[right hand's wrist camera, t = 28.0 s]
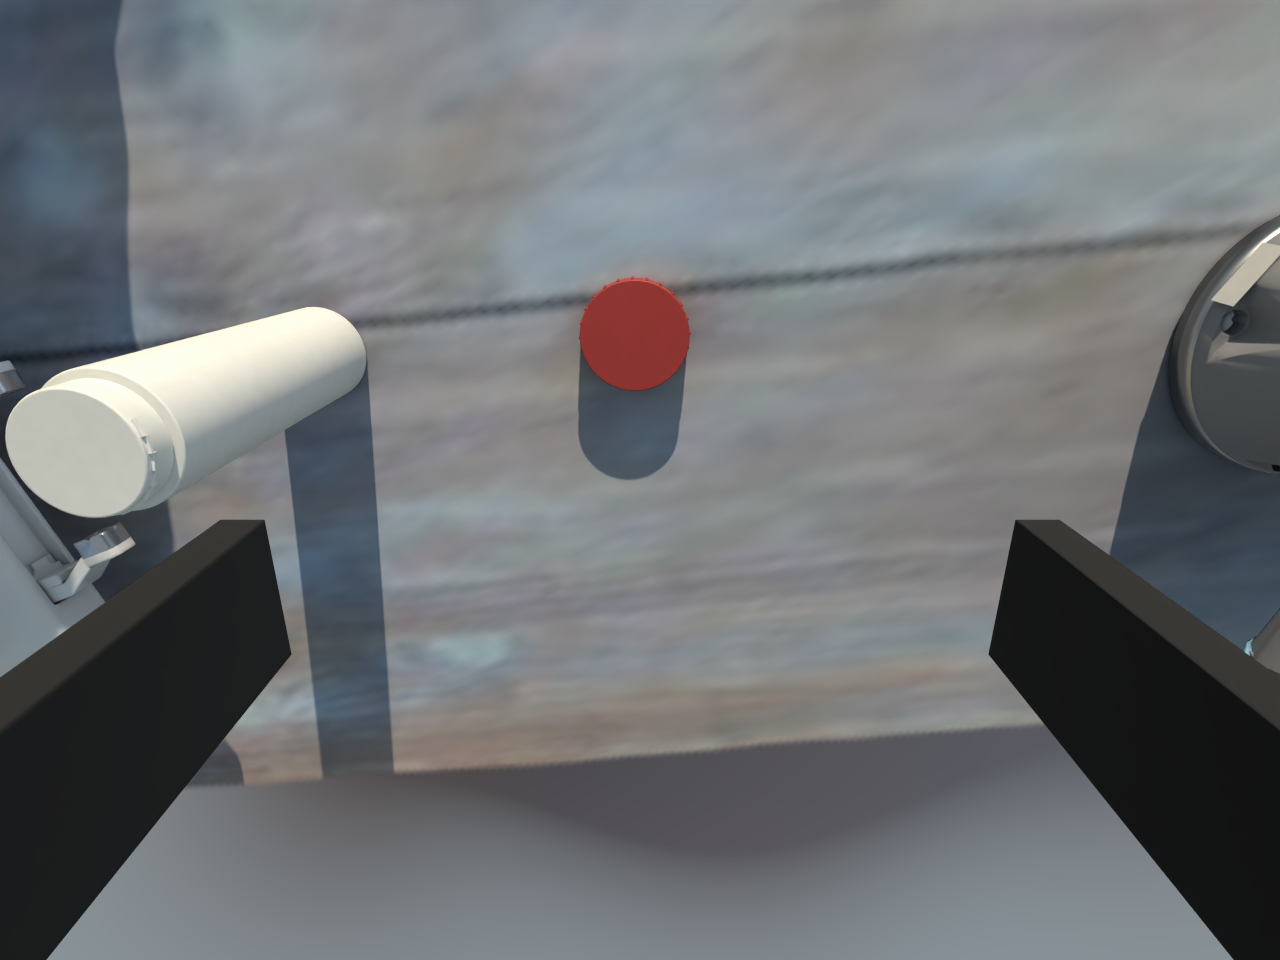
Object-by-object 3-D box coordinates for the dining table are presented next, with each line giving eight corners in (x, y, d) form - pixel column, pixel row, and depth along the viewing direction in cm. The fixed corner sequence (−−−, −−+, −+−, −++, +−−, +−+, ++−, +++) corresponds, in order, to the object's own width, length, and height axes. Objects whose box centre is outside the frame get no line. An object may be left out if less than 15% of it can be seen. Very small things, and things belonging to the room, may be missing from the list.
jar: (306, 411, 42) (63, 550, 24) (257, 328, 41) (-43, 413, 23) (383, 377, 42) (190, 495, 24) (336, 292, 40) (91, 350, 22)
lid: (694, 282, 40) (696, 284, 38) (682, 389, 42) (684, 396, 40) (584, 271, 39) (582, 273, 38) (577, 380, 42) (575, 386, 40)
